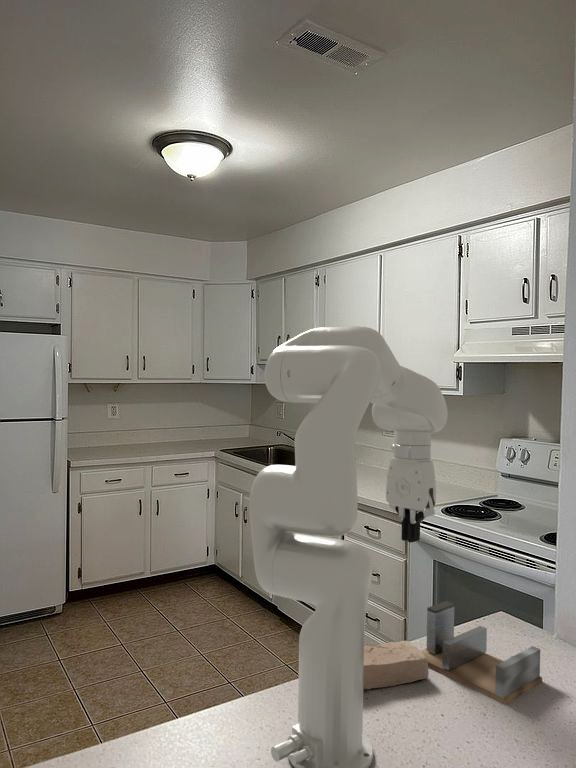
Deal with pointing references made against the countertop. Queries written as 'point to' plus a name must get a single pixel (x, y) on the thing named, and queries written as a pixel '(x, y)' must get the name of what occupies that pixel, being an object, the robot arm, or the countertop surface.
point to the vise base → (494, 673)
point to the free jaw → (452, 637)
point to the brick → (393, 664)
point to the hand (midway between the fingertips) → (410, 540)
